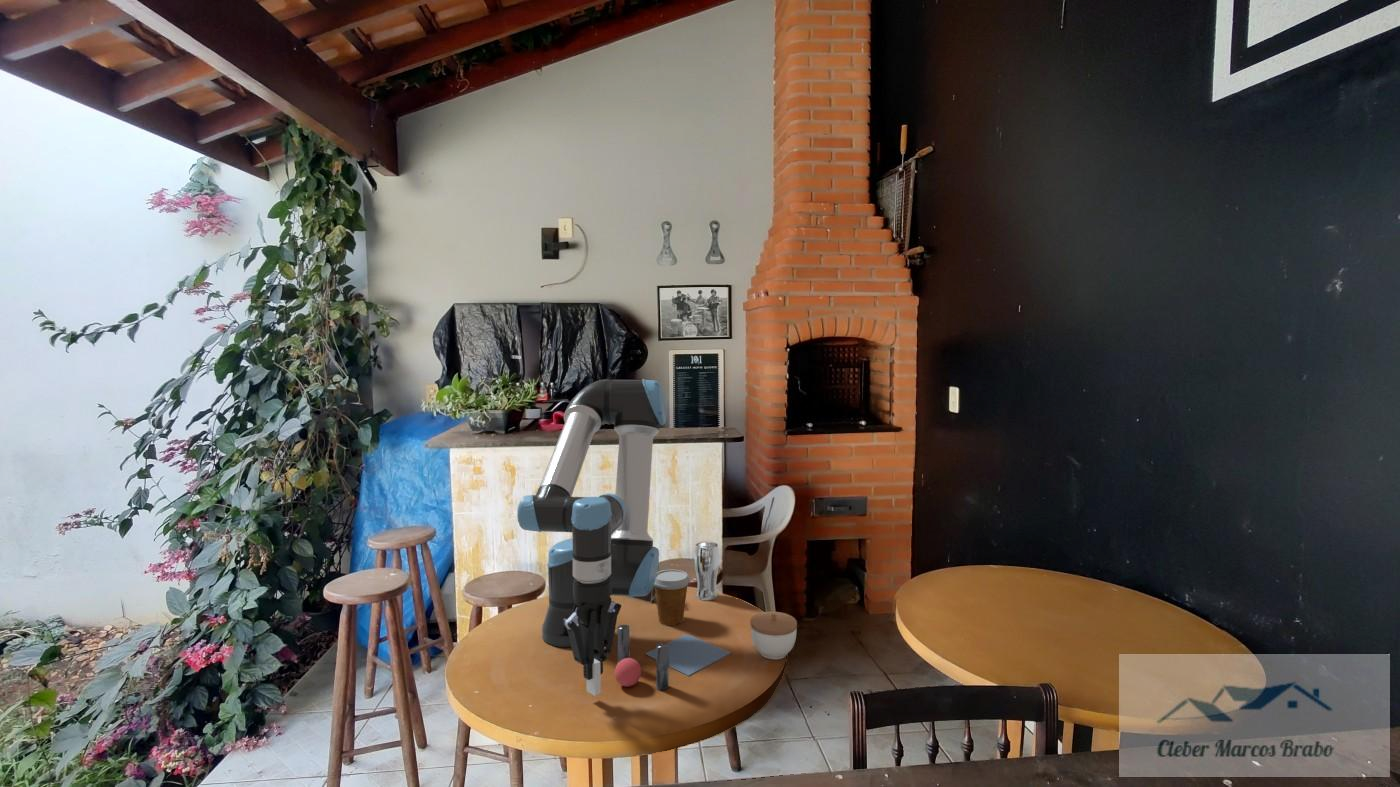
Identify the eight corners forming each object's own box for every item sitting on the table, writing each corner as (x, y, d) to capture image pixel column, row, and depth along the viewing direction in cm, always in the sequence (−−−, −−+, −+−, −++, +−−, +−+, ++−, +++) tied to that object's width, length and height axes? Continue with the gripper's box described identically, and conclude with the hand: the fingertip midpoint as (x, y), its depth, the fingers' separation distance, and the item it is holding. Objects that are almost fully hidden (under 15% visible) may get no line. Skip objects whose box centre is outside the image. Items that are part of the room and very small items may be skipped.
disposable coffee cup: (652, 613, 169) (652, 569, 168) (688, 612, 170) (688, 568, 169) (652, 629, 160) (652, 582, 159) (690, 627, 161) (690, 581, 160)
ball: (634, 660, 138) (620, 685, 135) (618, 650, 135) (605, 674, 132) (650, 669, 134) (637, 694, 131) (635, 658, 131) (621, 684, 128)
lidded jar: (757, 639, 154) (757, 601, 153) (801, 646, 150) (801, 608, 150) (744, 659, 144) (744, 619, 143) (790, 668, 140) (791, 627, 140)
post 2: (653, 687, 132) (653, 645, 131) (662, 682, 134) (662, 641, 133) (662, 692, 130) (662, 649, 130) (671, 687, 132) (671, 645, 132)
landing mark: (645, 654, 146) (645, 653, 146) (687, 634, 157) (687, 633, 157) (688, 676, 137) (688, 675, 137) (730, 653, 147) (730, 652, 147)
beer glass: (716, 602, 177) (716, 549, 175) (692, 600, 178) (692, 547, 177) (720, 592, 183) (721, 542, 182) (697, 590, 185) (697, 540, 184)
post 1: (615, 666, 141) (615, 627, 140) (624, 662, 143) (624, 623, 142) (622, 670, 139) (622, 630, 138) (632, 666, 141) (631, 627, 140)
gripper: (576, 591, 118) (577, 713, 120) (629, 573, 127) (630, 686, 129) (553, 580, 123) (555, 697, 125) (606, 564, 133) (607, 673, 134)
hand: (593, 691), depth 127 cm, fingers closed
